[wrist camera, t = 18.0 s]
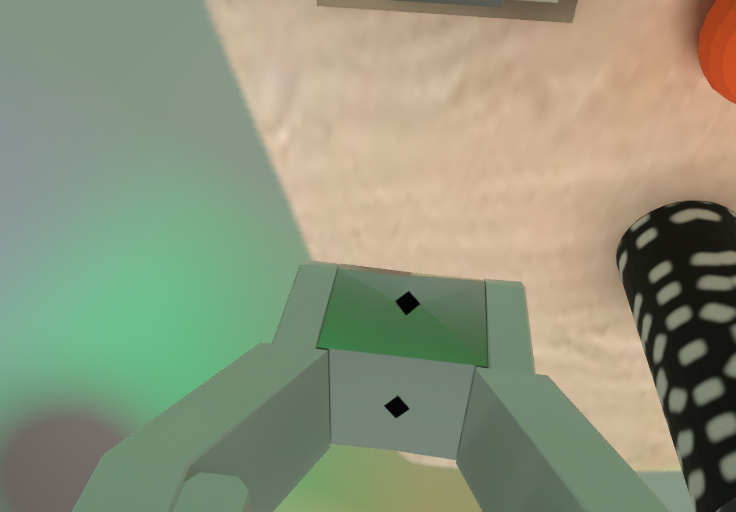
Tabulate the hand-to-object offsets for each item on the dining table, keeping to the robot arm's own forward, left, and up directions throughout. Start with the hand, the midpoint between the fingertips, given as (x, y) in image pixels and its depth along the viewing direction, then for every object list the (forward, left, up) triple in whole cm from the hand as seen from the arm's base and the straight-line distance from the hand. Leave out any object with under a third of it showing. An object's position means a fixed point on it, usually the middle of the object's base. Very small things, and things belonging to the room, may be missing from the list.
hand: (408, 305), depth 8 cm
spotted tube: (+19, +18, -29) cm, 39 cm away
